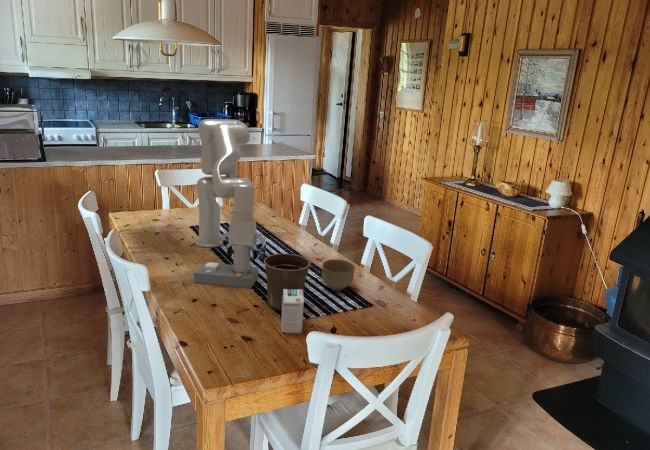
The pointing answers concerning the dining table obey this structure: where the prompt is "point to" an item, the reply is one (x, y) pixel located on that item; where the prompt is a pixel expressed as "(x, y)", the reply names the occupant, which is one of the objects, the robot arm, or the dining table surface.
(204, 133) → the robot arm
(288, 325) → the light bulb box
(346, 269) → the bowl
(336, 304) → the dining table surface
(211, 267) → the block
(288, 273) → the plant pot
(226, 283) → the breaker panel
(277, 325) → the dining table surface
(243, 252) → the beverage can
